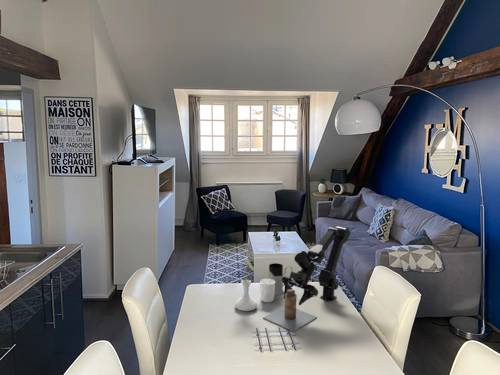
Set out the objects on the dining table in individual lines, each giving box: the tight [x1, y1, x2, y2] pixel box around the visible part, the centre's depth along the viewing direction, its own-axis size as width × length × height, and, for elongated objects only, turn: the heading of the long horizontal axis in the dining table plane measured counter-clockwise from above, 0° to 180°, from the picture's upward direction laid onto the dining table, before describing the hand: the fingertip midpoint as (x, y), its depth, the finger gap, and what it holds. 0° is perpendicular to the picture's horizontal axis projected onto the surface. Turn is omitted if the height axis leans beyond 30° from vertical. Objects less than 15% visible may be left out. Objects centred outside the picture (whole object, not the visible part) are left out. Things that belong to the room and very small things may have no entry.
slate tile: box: [262, 305, 318, 333], centre depth 181 cm, size 18×18×1 cm
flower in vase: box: [234, 257, 258, 312], centre depth 190 cm, size 13×11×25 cm
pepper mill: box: [284, 288, 297, 320], centre depth 180 cm, size 5×5×13 cm
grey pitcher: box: [268, 262, 294, 296], centre depth 210 cm, size 9×14×15 cm, turn 107°
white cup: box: [259, 278, 275, 303], centre depth 200 cm, size 8×8×10 cm
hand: (291, 301), depth 180 cm, fingers open, 9 cm apart
